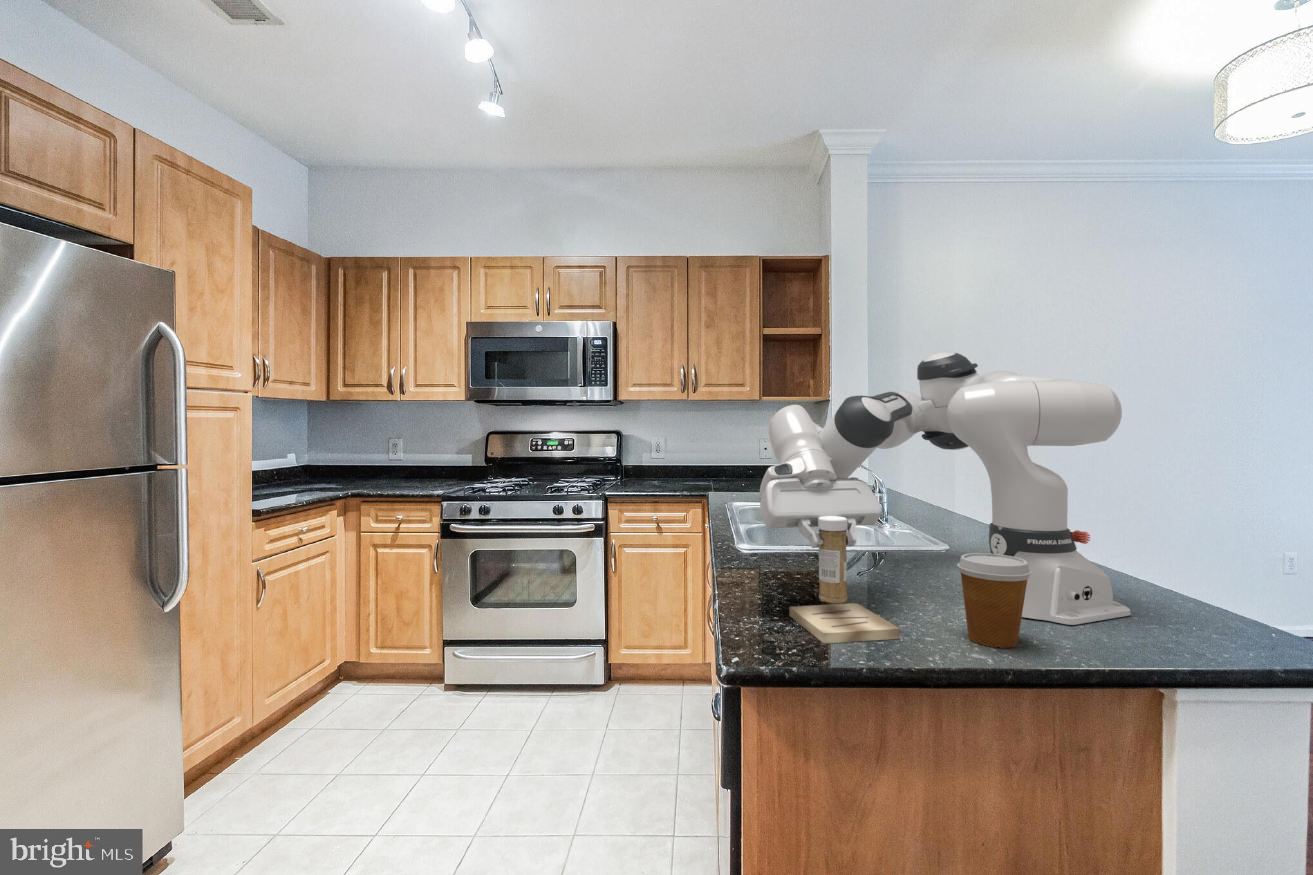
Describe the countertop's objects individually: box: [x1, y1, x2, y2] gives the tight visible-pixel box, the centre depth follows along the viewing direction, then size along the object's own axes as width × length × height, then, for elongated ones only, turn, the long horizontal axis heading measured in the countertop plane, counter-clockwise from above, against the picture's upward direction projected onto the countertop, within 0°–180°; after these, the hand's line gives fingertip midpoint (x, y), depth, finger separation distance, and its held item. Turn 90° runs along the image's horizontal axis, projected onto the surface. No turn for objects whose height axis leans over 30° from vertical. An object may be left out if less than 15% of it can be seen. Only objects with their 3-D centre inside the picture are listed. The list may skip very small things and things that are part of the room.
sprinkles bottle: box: [817, 516, 848, 604], centre depth 99 cm, size 5×5×14 cm
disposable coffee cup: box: [956, 552, 1032, 649], centre depth 90 cm, size 10×10×12 cm
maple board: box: [788, 602, 901, 644], centre depth 96 cm, size 12×13×2 cm
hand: (834, 545), depth 99 cm, fingers closed on sprinkles bottle, 4 cm apart
